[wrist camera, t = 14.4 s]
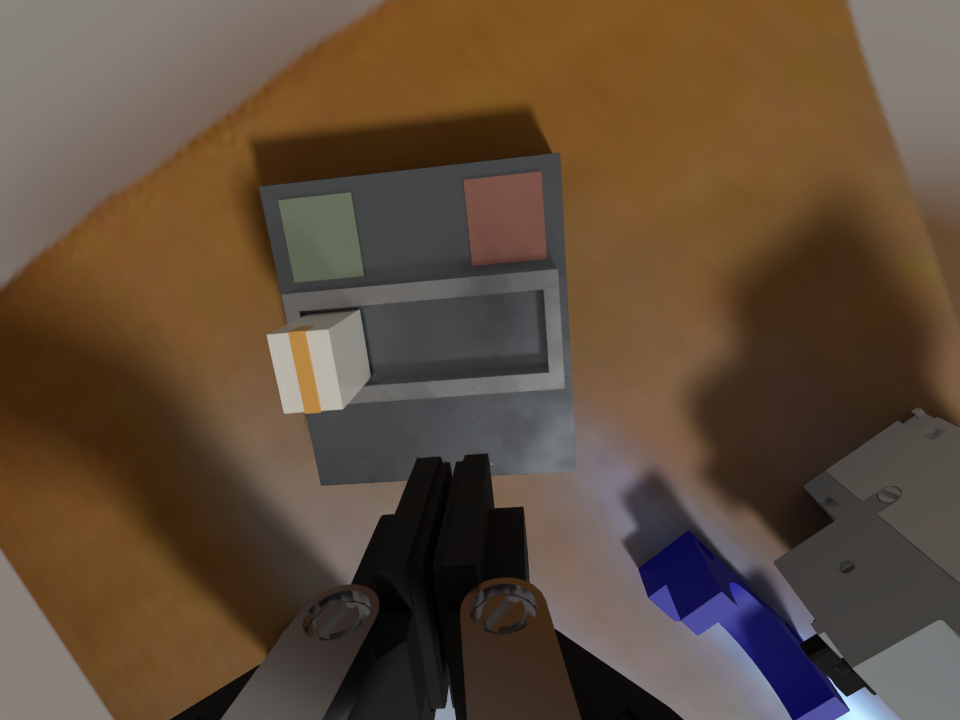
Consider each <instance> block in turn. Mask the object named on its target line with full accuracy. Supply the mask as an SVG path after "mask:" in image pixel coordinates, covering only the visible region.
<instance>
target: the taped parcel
mask: <svg viewBox="0 0 960 720" xmlns="http://www.w3.org/2000/svg"><path fill="white" fill-rule="evenodd" d="M267 339H268V343H269V348H270V352H271V357H272V361H273V366H274V370H275V375H276V379H277V384H278V388H279V393H280V397H281V402H282V406H283V411H284V414H285V413H299V412H305V414H309V413H321V412H322V411H327V410H341V409H344V408H345V407H346V406H347V404H348V403H349V402H350V401H351V400H352V399H353V397H354V396H355V395H356V394H357V393H358V392H359V390H360V389H361V388H362V387H363V386H364V385H365V384H366V382H367V381H368V380H369V379H370V378H371V374H370V368H369V362H368V356H367V350H366V344H365V338H364V332H363V326H362V320H361V314H360V309H358V310H347V311H336V312H324V313H313V314H307V315H305V316H303V317H301V318H299V319H297V320H295V321H293V322H291V323H289V324H287V325H285V326H283V327H281V328H279V329H277V330H275V331H273V332H271V333H269V334H267Z"/></svg>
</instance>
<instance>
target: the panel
mask: <svg viewBox="0 0 960 720" xmlns="http://www.w3.org/2000/svg"><path fill="white" fill-rule="evenodd" d="M259 191H260V195H261V200H262V205H263V210H264V215H265V219H266V224H267V229H268V234H269V239H270V243H271V248H272V253H273V258H274V262H275V267H276V272H277V277H278V282H279V286H280V291H281V296H282V301H283V306H284V310H285V315H286V320H287V324H289V323H291V322H293V321H295V320H297V319H299V318H301V317H303V316H305V315H307V314H313V313H324V312H336V311H347V310H358V309H360V314H361V320H362V326H363V332H364V338H365V344H366V350H367V356H368V362H369V368H370V374H371V378H370V379H369V380H368V381H367V382H366V384H365V385H364V386H363V387H362V388H361V389H360V390H359V392H358V393H357V394H356V395H355V396H354V397H353V399H352V400H351V401H350V402H349V403H348V404H347V406H346V407H345V408H344V409H341V410H327V411H322V412H321V413H309V414H306V416H307V420H308V425H309V430H310V435H311V440H312V444H313V449H314V454H315V459H316V464H317V468H318V473H319V478H320V483H321V486H322V485H340V484H358V483H375V482H393V481H408V479H409V477H410V474H411V472H412V469H413V467H414V464H415V462H416V459H417V458H425V457H441V458H442V461H443V462H450V464H451V469H452V477H453V472H454V468H455V464H456V461H463V460H464V456H465V455H469V454H484V453H488V456H489V462H490V471H491V476H499V475H517V474H534V473H552V472H570V471H576V452H575V433H574V414H573V395H572V375H571V356H570V337H569V318H568V299H567V279H566V260H565V241H564V222H563V203H562V183H561V164H560V153H553V154H544V155H535V156H526V157H518V158H509V159H500V160H491V161H482V162H473V163H465V164H456V165H447V166H438V167H429V168H420V169H411V170H403V171H394V172H385V173H376V174H367V175H358V176H350V177H341V178H332V179H323V180H314V181H305V182H296V183H288V184H279V185H270V186H261V187H259Z"/></svg>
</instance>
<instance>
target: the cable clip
mask: <svg viewBox="0 0 960 720" xmlns="http://www.w3.org/2000/svg"><path fill="white" fill-rule="evenodd" d="M639 572H640V575H641V578H642V581H643V584H644V587H645V590H646V593H647V596H648V598H649V599H650V600H651V601H652V602H654V603H655V604H656V605H657V606H658V607H659V608H660V609H661V610H662V611H664V612H665V613H666V614H667V615H668V616H669V617H670V618H671V619H673V620H674V621H675V622H676V621H682V622H683V623H684V624H685V625H686V626H687V627H688V628H689V629H691V630H692V631H693V632H694V633H695V634H696V635H697V636H698V635H699V634H701V633H703V632H704V631H706V630H707V629H709V628H710V627H711V626H713V625H714V624H716V623H717V622H719V623H720V624H721V625H722V626H723V627H724V628H725V629H726V630H727V631H728V632H729V633H730V634H731V636H732V637H733V638H734V639H735V640H736V641H737V642H738V643H739V644H740V646H741V647H742V648H743V649H744V650H745V652H746V653H747V654H748V655H749V657H750V658H751V659H752V660H753V662H754V663H755V664H756V665H757V667H758V668H759V669H760V671H761V672H762V674H763V675H764V676H765V678H766V679H767V680H768V682H769V683H770V685H771V686H772V688H773V689H774V691H775V692H776V694H777V695H778V697H779V698H780V700H781V701H782V703H783V705H784V706H785V708H786V710H787V711H788V713H789V715H790V716H791V718H792V720H835V719H837V718H839V717H840V716H842V715H844V714H845V713H847V712H849V711H850V710H849V708H848V707H847V705H846V704H845V702H844V701H843V699H842V698H841V696H840V695H839V693H838V692H837V690H836V689H835V687H834V686H833V684H832V683H831V681H830V680H829V678H828V677H827V675H826V674H825V673H824V672H823V671H822V670H821V669H820V668H819V667H817V666H816V665H815V664H814V663H813V662H812V661H811V660H810V659H809V658H808V656H807V655H806V654H805V652H804V651H803V650H802V648H801V647H800V643H802V642H804V641H803V640H802V638H801V637H800V635H799V634H798V633H797V632H796V631H795V630H794V629H793V628H792V627H791V626H790V625H789V624H787V623H786V622H785V621H784V620H783V619H782V618H781V617H780V616H779V615H778V614H777V613H776V612H775V611H774V610H773V609H771V608H770V607H769V606H768V605H767V604H766V603H765V602H764V601H763V600H762V599H761V598H760V597H759V596H758V595H757V594H755V593H754V592H753V591H752V590H751V589H750V588H749V587H748V586H747V585H746V584H745V583H744V582H743V581H742V580H741V579H739V578H738V577H737V576H736V575H735V574H734V573H733V572H732V571H731V570H730V569H729V568H728V567H727V566H726V565H725V564H724V563H722V562H721V561H720V560H719V559H718V558H717V557H716V556H715V555H714V554H713V553H712V552H711V551H710V550H709V549H708V548H706V547H705V546H704V545H703V544H702V543H701V542H700V541H699V540H698V539H697V538H696V537H695V536H694V535H693V534H692V533H690V532H689V531H687V532H686V533H685V534H683V535H682V536H681V537H679V538H678V539H677V540H675V541H674V542H673V543H672V544H670V545H669V546H668V547H666V548H665V549H664V550H662V551H661V552H660V553H658V554H657V555H656V556H654V557H653V558H652V559H651V560H649V561H648V562H647V563H645V564H644V565H643V566H641V567H640V568H639Z"/></svg>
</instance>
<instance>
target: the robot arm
mask: <svg viewBox="0 0 960 720" xmlns="http://www.w3.org/2000/svg"><path fill="white" fill-rule="evenodd" d="M448 687H450V694H451V700H452V706H453V708H455V715H456V720H683V719H682V718H681V717H680V716H679V715H678V714H677V713H675V712H674V711H673V710H672V709H671V708H670V707H668V706H667V705H665V704H664V703H662V702H661V701H660V700H658V699H657V698H655V697H654V696H652V695H651V694H649V693H648V692H646V691H645V690H643V689H642V688H641V687H639V686H638V685H636V684H635V683H633V682H632V681H630V680H629V679H627V678H626V677H625V676H623V675H622V674H620V673H619V672H617V671H616V670H614V669H613V668H611V667H610V666H608V665H607V664H606V663H604V662H603V661H601V660H600V659H598V658H597V657H595V656H594V655H592V654H591V653H589V652H588V651H587V650H585V649H584V648H582V647H581V646H579V645H578V644H576V643H575V642H573V641H572V640H571V639H569V638H568V637H566V636H565V635H563V634H562V633H560V632H559V631H557V630H556V629H554V626H553V623H552V619H551V616H550V612H549V609H548V606H547V602H546V600H545V598H544V596H543V594H542V592H541V591H540V590H539V589H538V588H536V587H535V586H534V585H533V584H531V583H530V581H529V564H528V550H527V538H526V527H525V516H524V508H523V507H510V508H494V499H493V490H492V481H491V471H490V462H489V456H488V453H484V454H469V455H465V456H464V460H463V461H456V464H455V468H454V472H453V477H452V469H451V464H450V462H443V461H442V458H441V457H425V458H417V459H416V462H415V464H414V467H413V469H412V472H411V474H410V477H409V479H408V482H407V485H406V487H405V490H404V492H403V495H402V497H401V500H400V502H399V505H398V507H397V510H396V512H395V514H389V515H382V516H381V518H380V519H379V522H378V524H377V526H376V528H375V531H374V533H373V535H372V538H371V540H370V542H369V544H368V547H367V549H366V551H365V554H364V556H363V558H362V560H361V563H360V565H359V567H358V570H357V572H356V574H355V576H354V579H353V581H352V583H351V585H342V586H339V587H335V588H331V589H329V590H327V591H325V592H322V593H320V594H318V595H317V596H316V597H314V598H313V599H311V600H310V601H308V602H307V603H306V605H305V606H304V607H303V608H302V609H301V610H300V611H299V612H298V614H297V615H296V617H295V618H294V619H293V621H292V622H291V623H290V625H289V626H288V627H287V628H286V629H285V630H284V631H283V633H282V634H281V636H280V637H279V639H278V640H277V642H276V644H275V645H274V647H273V648H272V650H271V651H270V652H269V654H268V655H267V656H266V658H265V659H264V661H263V662H262V663H261V664H260V665H258V666H256V667H255V668H253V669H252V670H250V671H248V672H247V673H245V674H243V675H242V676H240V677H239V678H237V679H235V680H234V681H232V682H230V683H229V684H227V685H226V686H224V687H222V688H221V689H219V690H217V691H216V692H214V693H213V694H211V695H209V696H208V697H206V698H204V699H203V700H201V701H199V702H198V703H196V704H195V705H193V706H191V707H190V708H188V709H186V710H185V711H183V712H182V713H180V714H178V715H177V716H175V717H173V718H172V719H170V720H434V718H435V712H436V709H443V708H445V706H446V702H447V695H448Z"/></svg>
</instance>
